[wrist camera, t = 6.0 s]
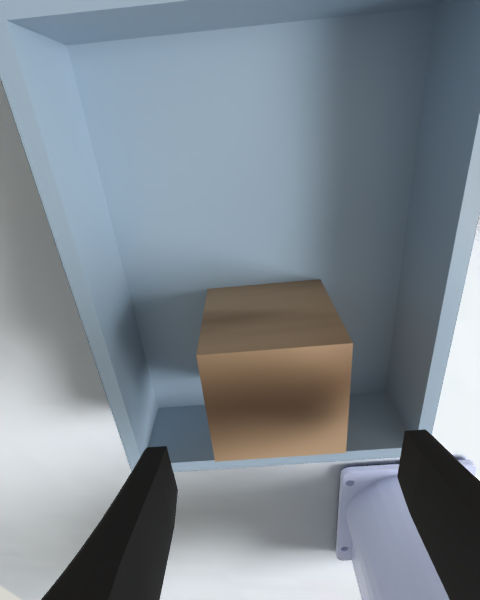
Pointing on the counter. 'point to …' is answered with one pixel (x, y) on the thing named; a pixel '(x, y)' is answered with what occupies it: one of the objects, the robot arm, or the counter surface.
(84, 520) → the counter surface
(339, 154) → the tote
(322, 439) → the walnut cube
